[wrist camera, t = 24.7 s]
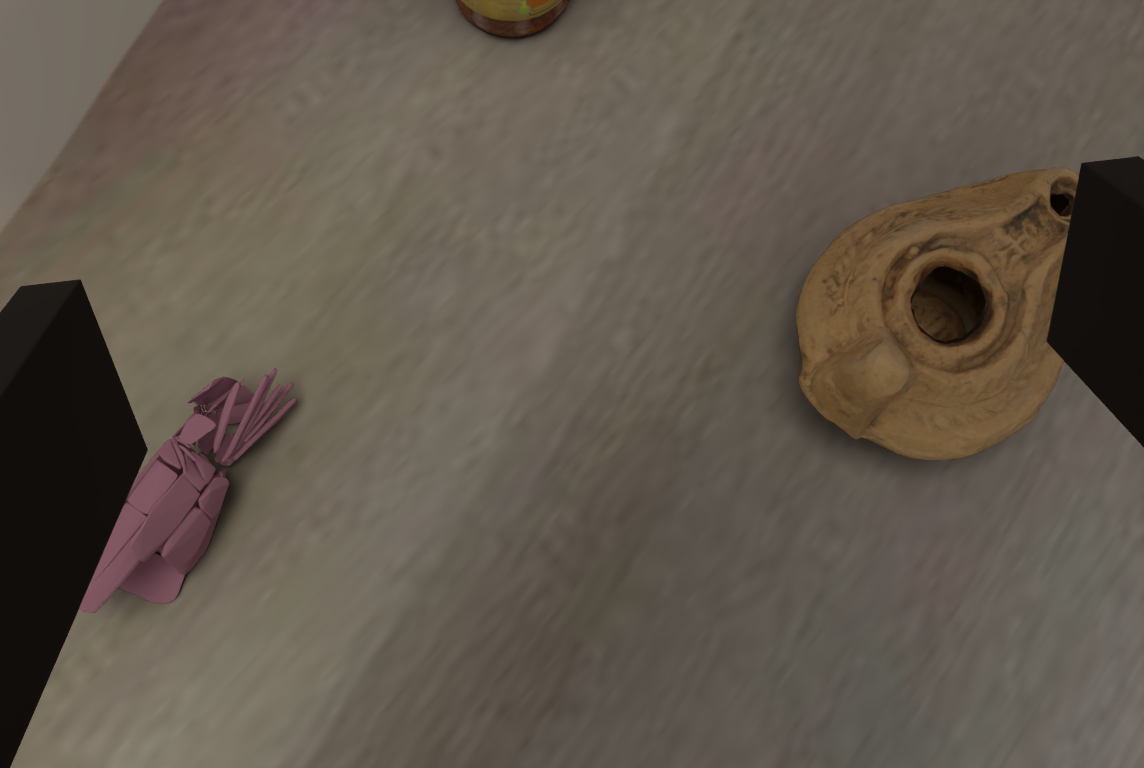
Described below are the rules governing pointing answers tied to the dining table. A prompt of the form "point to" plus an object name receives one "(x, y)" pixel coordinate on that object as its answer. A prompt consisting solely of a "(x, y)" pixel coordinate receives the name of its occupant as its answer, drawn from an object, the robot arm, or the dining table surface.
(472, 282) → the dining table surface
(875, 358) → the oil lamp
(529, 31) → the sauce bottle
